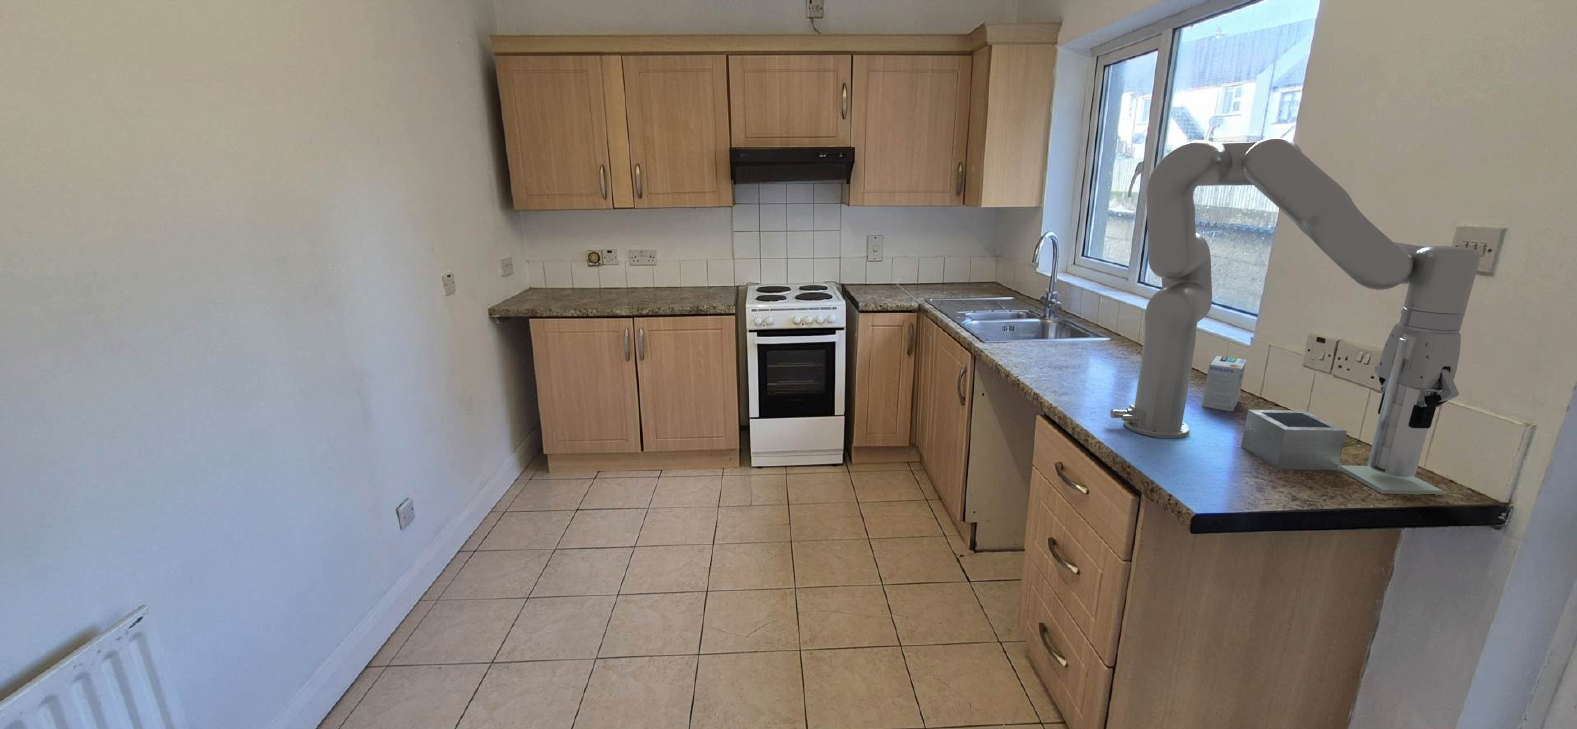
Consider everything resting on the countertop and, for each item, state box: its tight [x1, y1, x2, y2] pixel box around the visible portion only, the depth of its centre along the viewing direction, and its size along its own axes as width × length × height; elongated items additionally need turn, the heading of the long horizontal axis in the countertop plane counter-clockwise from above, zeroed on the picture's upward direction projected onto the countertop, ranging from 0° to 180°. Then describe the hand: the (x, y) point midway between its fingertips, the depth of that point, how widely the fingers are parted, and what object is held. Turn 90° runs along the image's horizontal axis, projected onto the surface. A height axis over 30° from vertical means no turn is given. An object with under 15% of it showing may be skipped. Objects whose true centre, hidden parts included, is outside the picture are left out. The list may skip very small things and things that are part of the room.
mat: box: [1337, 464, 1444, 496], centre depth 118 cm, size 10×10×1 cm
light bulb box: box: [1201, 355, 1248, 413], centre depth 158 cm, size 11×7×11 cm, turn 141°
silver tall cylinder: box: [1366, 334, 1437, 477], centre depth 114 cm, size 6×6×25 cm
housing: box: [1240, 409, 1348, 471], centre depth 127 cm, size 11×11×8 cm
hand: (1403, 420), depth 115 cm, fingers closed on silver tall cylinder, 5 cm apart
